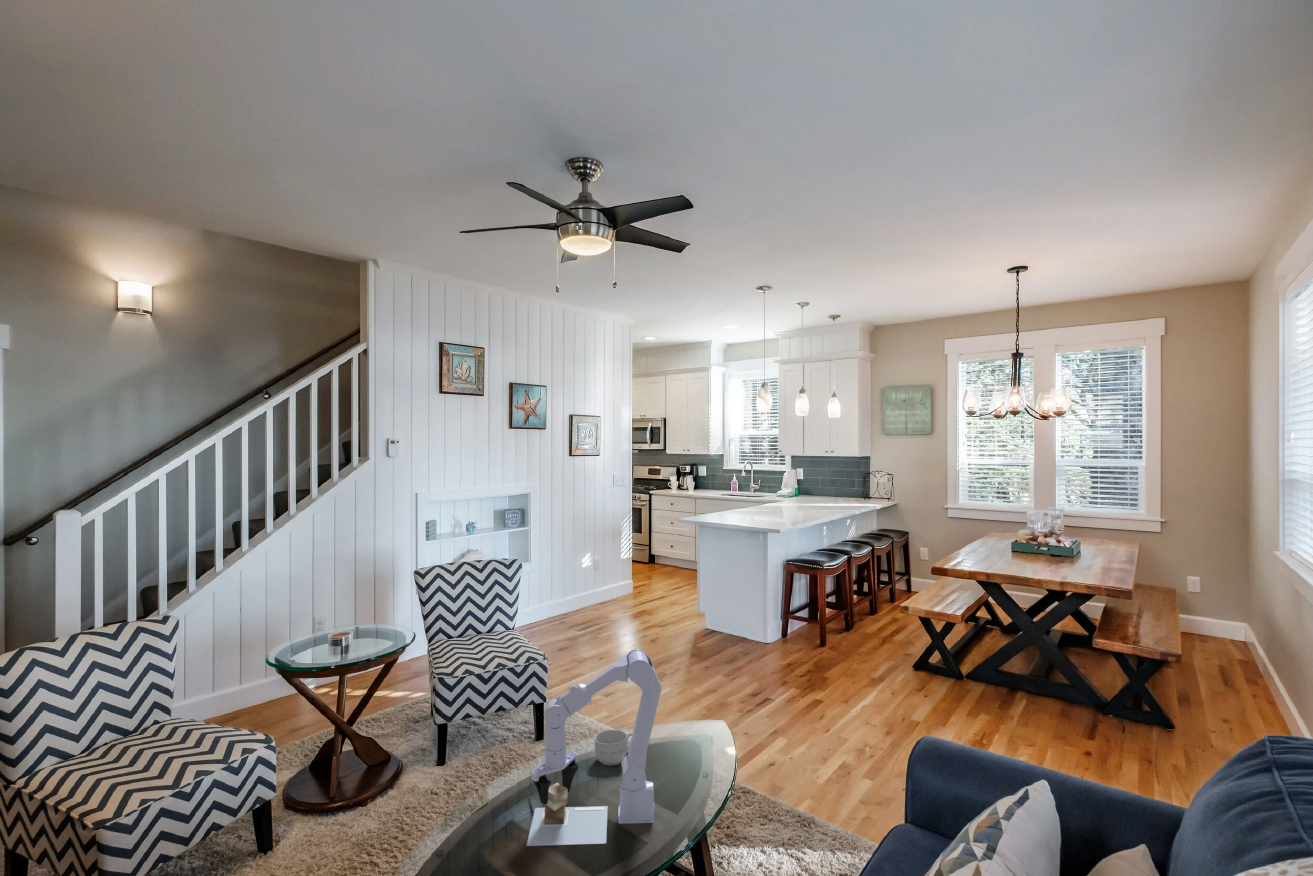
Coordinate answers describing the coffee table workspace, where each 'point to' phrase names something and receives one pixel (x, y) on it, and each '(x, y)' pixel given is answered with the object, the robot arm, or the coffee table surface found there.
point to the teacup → (611, 746)
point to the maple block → (557, 796)
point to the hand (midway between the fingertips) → (555, 797)
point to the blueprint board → (570, 827)
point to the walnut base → (554, 815)
